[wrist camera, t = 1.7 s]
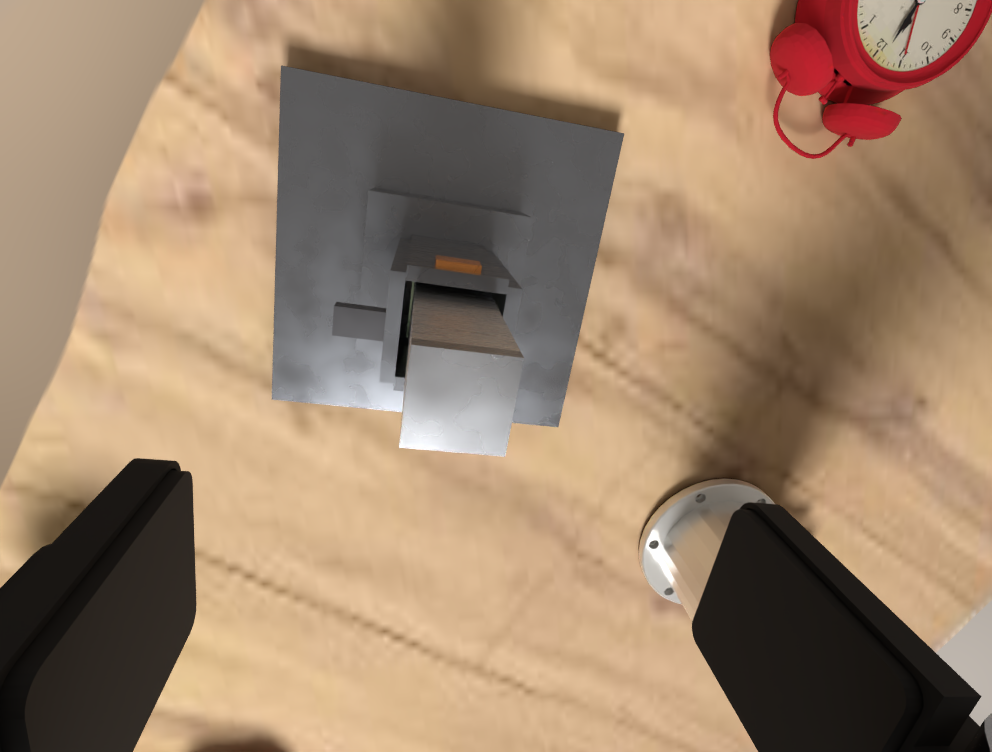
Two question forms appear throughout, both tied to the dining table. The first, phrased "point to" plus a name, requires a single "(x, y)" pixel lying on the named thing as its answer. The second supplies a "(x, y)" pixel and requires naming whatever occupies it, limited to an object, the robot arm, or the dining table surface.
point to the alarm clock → (870, 56)
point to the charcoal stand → (427, 234)
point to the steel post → (458, 372)
